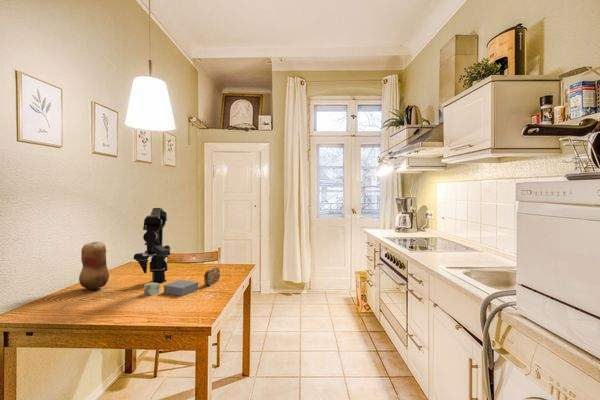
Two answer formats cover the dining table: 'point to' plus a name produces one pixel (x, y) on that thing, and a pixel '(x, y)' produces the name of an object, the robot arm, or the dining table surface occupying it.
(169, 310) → the dining table surface
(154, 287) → the cube
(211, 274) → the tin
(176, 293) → the plinth
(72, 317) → the dining table surface
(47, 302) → the dining table surface
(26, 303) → the dining table surface
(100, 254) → the butternut squash
